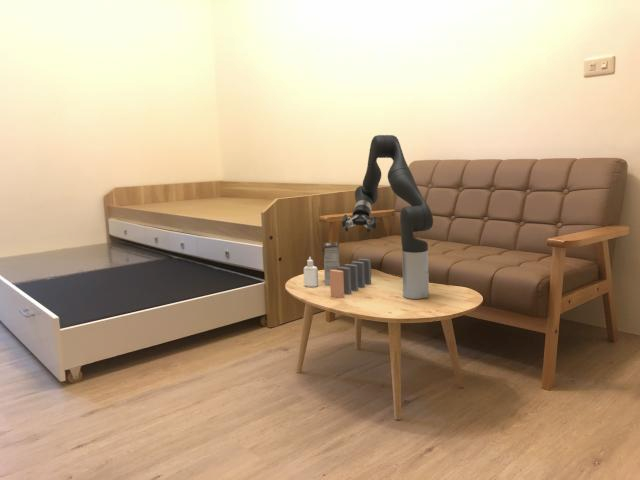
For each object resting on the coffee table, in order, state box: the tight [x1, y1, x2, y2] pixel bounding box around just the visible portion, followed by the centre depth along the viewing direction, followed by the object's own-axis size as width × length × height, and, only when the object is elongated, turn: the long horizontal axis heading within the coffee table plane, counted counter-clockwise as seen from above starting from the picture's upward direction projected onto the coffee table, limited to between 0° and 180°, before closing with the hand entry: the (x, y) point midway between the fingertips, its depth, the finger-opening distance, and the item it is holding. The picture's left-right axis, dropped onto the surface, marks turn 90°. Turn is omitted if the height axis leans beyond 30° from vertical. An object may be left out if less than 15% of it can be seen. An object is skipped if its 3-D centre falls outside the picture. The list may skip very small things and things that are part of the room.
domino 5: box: [357, 258, 372, 286], centre depth 215 cm, size 2×5×10 cm, turn 54°
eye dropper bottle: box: [303, 256, 319, 288], centre depth 214 cm, size 4×6×12 cm
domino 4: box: [350, 260, 366, 289], centre depth 211 cm, size 2×5×10 cm, turn 54°
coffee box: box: [323, 241, 341, 286], centre depth 219 cm, size 9×6×16 cm
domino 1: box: [329, 270, 345, 299], centre depth 199 cm, size 2×5×10 cm, turn 54°
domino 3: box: [343, 263, 359, 292], centre depth 207 cm, size 2×5×10 cm, turn 54°
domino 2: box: [337, 266, 352, 295], centre depth 203 cm, size 2×5×10 cm, turn 54°
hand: (357, 230), depth 216 cm, fingers open, 8 cm apart
